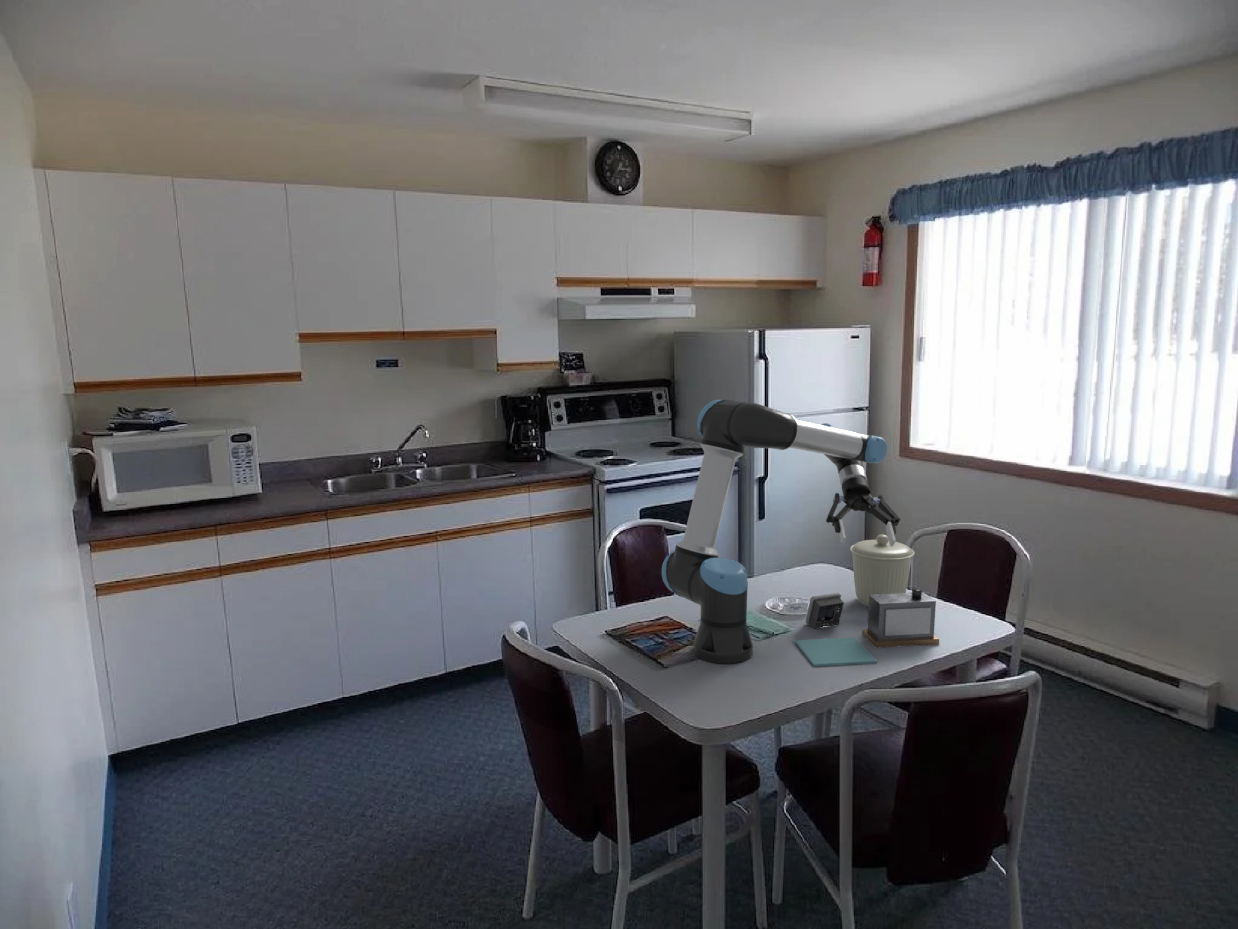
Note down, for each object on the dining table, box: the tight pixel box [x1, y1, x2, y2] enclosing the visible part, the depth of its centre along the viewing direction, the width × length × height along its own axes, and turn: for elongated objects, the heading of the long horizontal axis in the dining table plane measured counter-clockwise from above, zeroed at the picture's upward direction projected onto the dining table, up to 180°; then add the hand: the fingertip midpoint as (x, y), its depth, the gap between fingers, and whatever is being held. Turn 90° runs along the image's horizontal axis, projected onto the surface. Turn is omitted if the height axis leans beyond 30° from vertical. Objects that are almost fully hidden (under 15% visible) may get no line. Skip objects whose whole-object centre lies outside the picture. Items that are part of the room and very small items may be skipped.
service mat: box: [794, 636, 878, 668], centre depth 204 cm, size 16×15×1 cm
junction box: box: [861, 587, 940, 649], centre depth 210 cm, size 17×9×14 cm, turn 95°
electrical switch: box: [804, 592, 845, 630], centre depth 221 cm, size 9×5×9 cm, turn 109°
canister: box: [849, 533, 915, 607], centre depth 237 cm, size 18×18×21 cm
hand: (868, 542), depth 218 cm, fingers open, 13 cm apart
